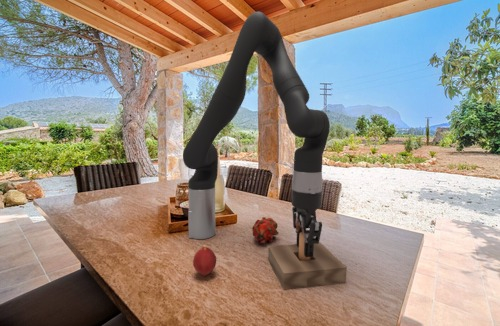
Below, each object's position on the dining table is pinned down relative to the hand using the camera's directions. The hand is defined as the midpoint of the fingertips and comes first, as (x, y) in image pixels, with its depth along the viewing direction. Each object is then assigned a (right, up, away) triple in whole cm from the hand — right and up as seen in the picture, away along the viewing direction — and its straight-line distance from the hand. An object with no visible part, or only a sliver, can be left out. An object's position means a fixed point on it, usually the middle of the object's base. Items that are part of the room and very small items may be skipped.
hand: (304, 251), depth 64 cm
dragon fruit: (-9, -3, +18) cm, 21 cm away
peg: (0, -5, +1) cm, 5 cm away
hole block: (0, -5, +1) cm, 5 cm away
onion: (-26, -6, -2) cm, 27 cm away
